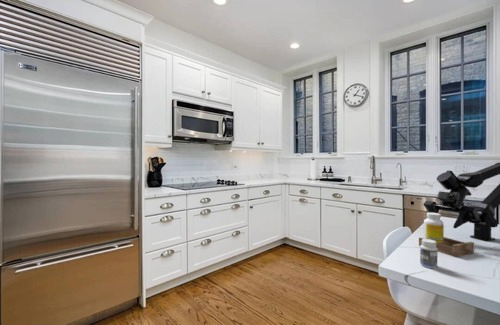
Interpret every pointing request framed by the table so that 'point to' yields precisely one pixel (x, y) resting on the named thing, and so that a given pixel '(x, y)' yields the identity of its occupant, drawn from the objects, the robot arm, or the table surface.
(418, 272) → the table surface
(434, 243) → the pill bottle
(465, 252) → the bay
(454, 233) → the table surface
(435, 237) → the supplement bottle
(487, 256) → the table surface
